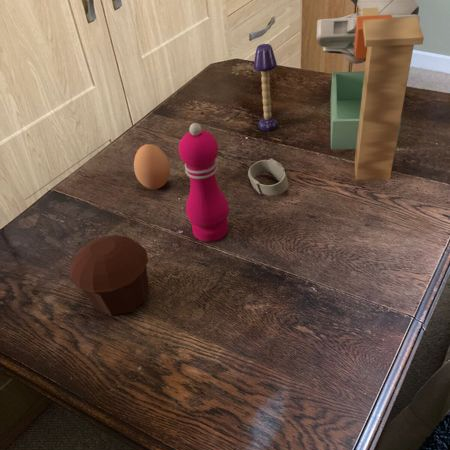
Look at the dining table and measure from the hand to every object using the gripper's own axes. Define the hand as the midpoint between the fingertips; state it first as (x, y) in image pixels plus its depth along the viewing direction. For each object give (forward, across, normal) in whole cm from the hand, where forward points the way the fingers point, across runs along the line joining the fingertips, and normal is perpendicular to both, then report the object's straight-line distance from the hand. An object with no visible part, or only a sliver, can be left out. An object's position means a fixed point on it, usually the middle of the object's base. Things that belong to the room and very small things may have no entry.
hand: (370, 21), depth 95 cm
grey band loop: (+14, +18, -30) cm, 38 cm away
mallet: (+3, 0, -4) cm, 5 cm away
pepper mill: (+26, +27, -36) cm, 52 cm away
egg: (+14, +40, -30) cm, 52 cm away
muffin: (+40, +39, -44) cm, 71 cm away
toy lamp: (-6, +20, -19) cm, 28 cm away
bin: (-6, 0, -18) cm, 19 cm away
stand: (+12, -1, -28) cm, 31 cm away
